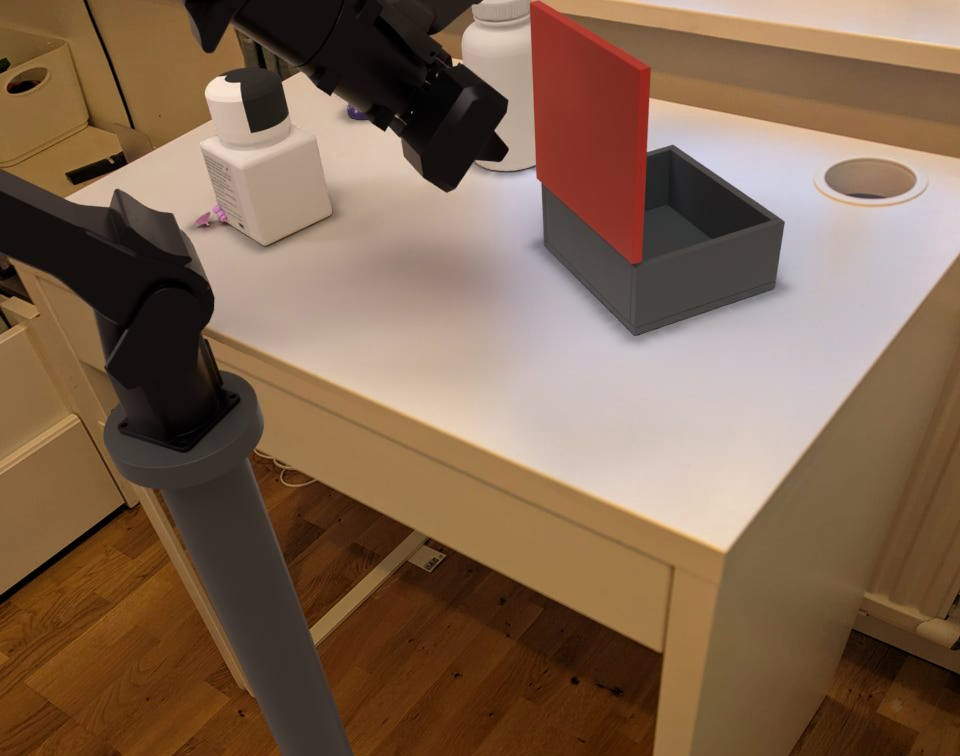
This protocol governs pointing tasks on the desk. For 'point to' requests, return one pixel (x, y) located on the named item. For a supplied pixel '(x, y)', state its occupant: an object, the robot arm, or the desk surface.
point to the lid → (591, 126)
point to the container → (262, 158)
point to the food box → (673, 246)
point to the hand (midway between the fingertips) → (503, 154)
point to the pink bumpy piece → (205, 217)
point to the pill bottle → (505, 73)
